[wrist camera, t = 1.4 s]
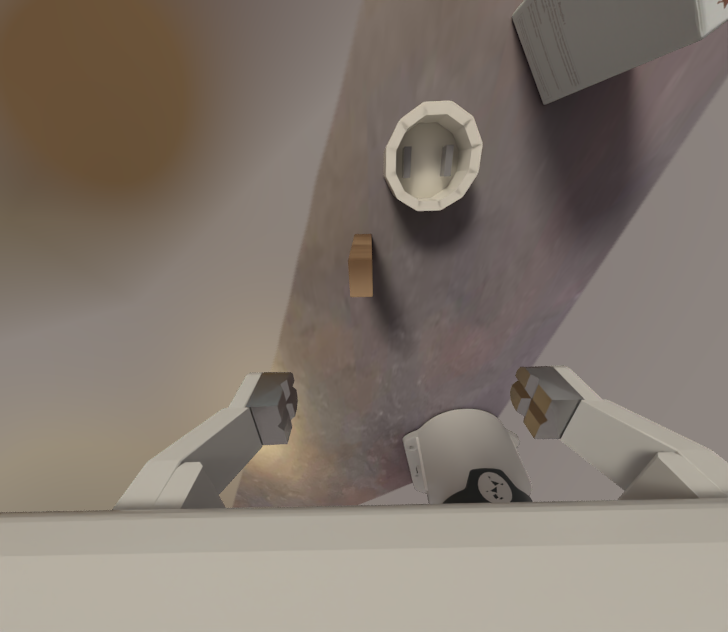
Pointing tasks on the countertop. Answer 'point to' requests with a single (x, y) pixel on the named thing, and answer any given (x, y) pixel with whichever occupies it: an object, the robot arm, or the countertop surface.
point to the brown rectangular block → (361, 266)
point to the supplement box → (606, 37)
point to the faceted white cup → (432, 156)
